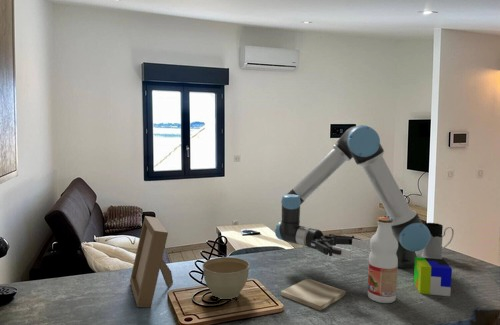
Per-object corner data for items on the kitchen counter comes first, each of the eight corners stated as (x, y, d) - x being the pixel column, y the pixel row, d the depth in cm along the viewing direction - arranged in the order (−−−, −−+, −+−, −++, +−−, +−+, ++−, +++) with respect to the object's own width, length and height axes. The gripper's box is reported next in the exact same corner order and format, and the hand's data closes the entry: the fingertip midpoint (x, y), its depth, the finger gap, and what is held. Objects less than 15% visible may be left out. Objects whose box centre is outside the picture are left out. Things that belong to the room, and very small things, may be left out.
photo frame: (137, 309, 121) (136, 232, 119) (129, 283, 141) (128, 217, 139) (183, 301, 127) (183, 228, 125) (170, 278, 147) (169, 214, 145)
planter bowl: (255, 289, 138) (255, 259, 137) (239, 308, 123) (239, 275, 122) (214, 282, 143) (214, 254, 142) (194, 300, 128) (194, 269, 127)
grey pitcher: (417, 253, 180) (419, 222, 179) (445, 253, 182) (447, 222, 180) (428, 260, 171) (430, 227, 170) (457, 259, 173) (459, 226, 172)
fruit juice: (394, 306, 126) (398, 222, 124) (365, 300, 130) (368, 219, 128) (397, 295, 135) (401, 216, 132) (369, 289, 139) (373, 213, 136)
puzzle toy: (450, 296, 135) (451, 268, 134) (419, 293, 137) (421, 266, 136) (442, 285, 144) (443, 259, 143) (413, 282, 146) (415, 257, 145)
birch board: (307, 282, 145) (307, 278, 145) (345, 295, 134) (345, 290, 134) (280, 295, 133) (280, 291, 133) (320, 310, 122) (320, 306, 122)
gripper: (326, 240, 161) (374, 252, 146) (290, 254, 142) (341, 269, 128) (327, 223, 160) (375, 233, 146) (291, 234, 142) (342, 247, 127)
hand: (360, 250), depth 137 cm, fingers open, 13 cm apart
